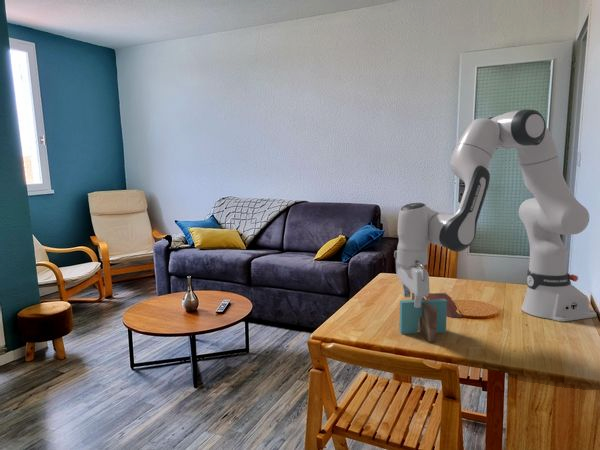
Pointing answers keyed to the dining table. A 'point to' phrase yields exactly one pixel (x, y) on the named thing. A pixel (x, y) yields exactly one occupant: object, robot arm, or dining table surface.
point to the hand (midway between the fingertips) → (411, 301)
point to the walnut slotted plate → (427, 321)
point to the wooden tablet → (450, 304)
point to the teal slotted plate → (411, 315)
